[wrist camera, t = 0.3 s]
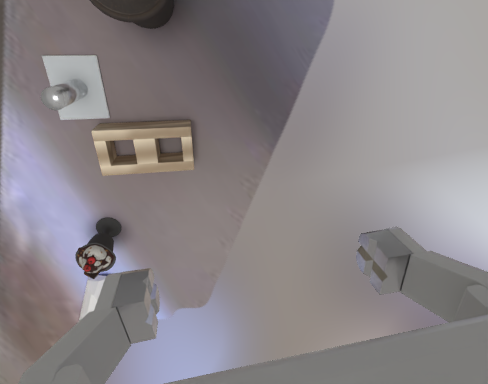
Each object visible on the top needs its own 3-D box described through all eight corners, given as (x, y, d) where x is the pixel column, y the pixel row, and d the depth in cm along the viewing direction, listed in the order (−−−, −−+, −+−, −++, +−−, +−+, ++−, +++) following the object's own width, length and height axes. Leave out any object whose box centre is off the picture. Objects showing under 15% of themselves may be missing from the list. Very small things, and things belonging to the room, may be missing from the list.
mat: (43, 55, 45) (41, 55, 45) (96, 55, 46) (96, 55, 46) (61, 119, 50) (60, 119, 49) (110, 117, 51) (109, 118, 51)
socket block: (99, 123, 51) (91, 131, 47) (190, 119, 54) (190, 126, 49) (109, 165, 55) (102, 175, 51) (193, 159, 57) (194, 169, 53)
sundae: (107, 208, 59) (84, 255, 46) (132, 228, 62) (117, 278, 49) (84, 225, 60) (55, 277, 47) (109, 245, 63) (88, 298, 50)
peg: (65, 79, 47) (37, 87, 38) (85, 79, 47) (62, 87, 39) (70, 98, 48) (44, 110, 40) (89, 97, 49) (68, 109, 40)
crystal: (75, 278, 61) (62, 351, 70) (102, 295, 60) (85, 367, 69) (102, 261, 68) (86, 329, 77) (126, 276, 67) (108, 344, 76)
